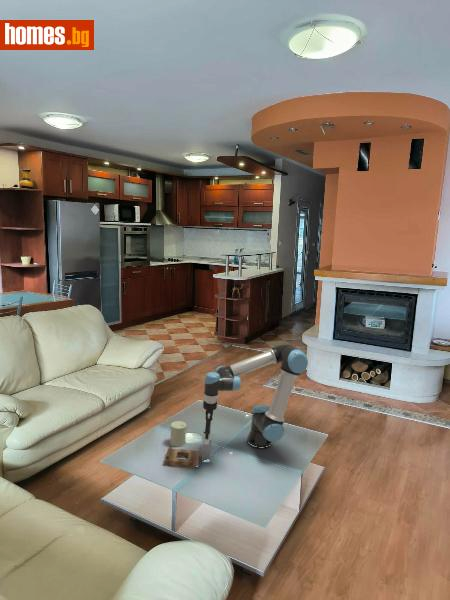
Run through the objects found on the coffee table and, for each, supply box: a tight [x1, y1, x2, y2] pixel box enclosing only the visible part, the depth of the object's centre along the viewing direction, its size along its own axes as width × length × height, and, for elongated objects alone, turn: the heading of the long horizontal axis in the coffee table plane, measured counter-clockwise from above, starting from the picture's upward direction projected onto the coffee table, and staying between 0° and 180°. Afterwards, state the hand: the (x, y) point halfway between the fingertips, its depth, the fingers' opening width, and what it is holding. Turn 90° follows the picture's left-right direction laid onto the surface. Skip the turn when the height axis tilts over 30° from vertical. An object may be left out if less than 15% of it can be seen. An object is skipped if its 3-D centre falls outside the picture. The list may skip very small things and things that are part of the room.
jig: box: [163, 445, 201, 468], centre depth 224 cm, size 18×12×5 cm, turn 89°
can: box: [169, 420, 187, 448], centre depth 241 cm, size 9×9×12 cm
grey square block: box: [201, 439, 212, 464], centre depth 225 cm, size 4×4×11 cm
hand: (207, 437), depth 224 cm, fingers open, 13 cm apart
